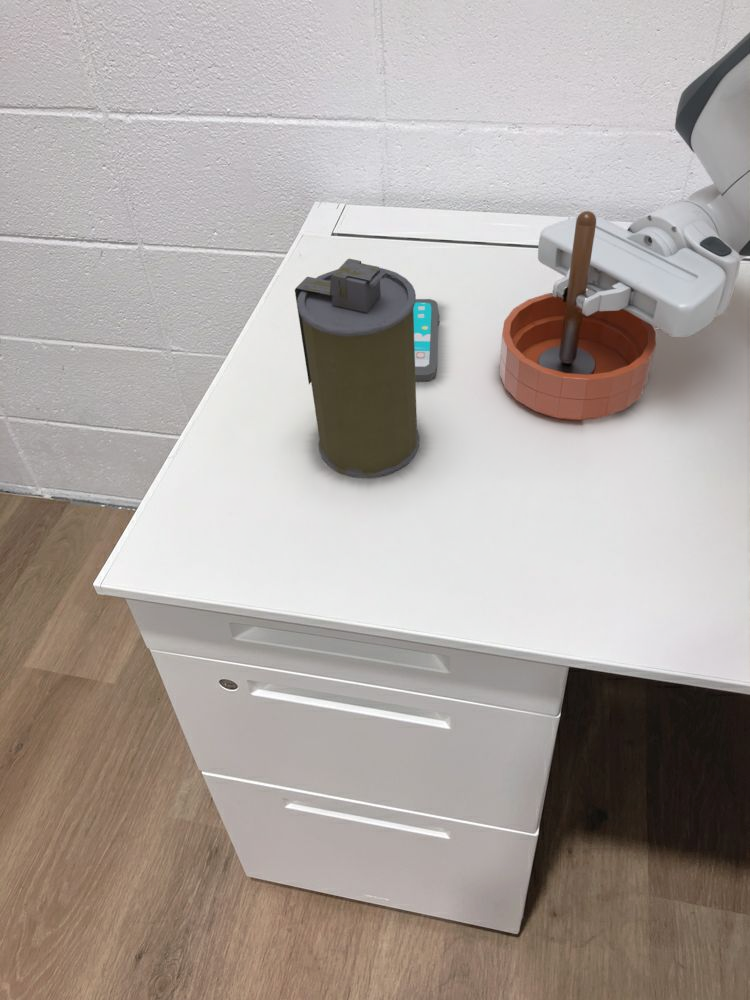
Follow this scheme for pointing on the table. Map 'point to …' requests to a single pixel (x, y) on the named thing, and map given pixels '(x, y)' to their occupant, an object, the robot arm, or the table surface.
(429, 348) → the smartphone
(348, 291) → the canister
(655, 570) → the table surface
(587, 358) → the peg on round base
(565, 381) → the bowl
